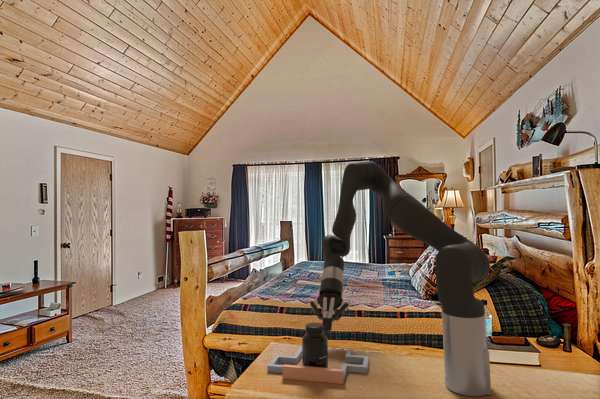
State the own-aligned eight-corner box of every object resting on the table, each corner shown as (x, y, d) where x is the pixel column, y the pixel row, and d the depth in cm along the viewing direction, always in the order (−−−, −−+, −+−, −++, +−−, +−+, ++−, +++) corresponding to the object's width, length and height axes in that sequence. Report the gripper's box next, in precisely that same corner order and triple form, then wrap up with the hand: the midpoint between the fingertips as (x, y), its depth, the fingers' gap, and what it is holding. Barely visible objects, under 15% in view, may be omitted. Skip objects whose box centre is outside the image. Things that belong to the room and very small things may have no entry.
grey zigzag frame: (369, 356, 102) (369, 345, 103) (365, 386, 85) (364, 373, 85) (284, 350, 109) (284, 340, 109) (263, 376, 91) (263, 364, 92)
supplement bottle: (326, 377, 90) (324, 329, 90) (299, 375, 91) (298, 328, 92) (330, 366, 96) (328, 321, 97) (305, 364, 98) (304, 320, 99)
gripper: (310, 276, 120) (303, 324, 108) (350, 277, 117) (346, 326, 104) (314, 288, 125) (307, 336, 113) (352, 290, 122) (349, 338, 109)
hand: (326, 331), depth 108 cm, fingers closed
